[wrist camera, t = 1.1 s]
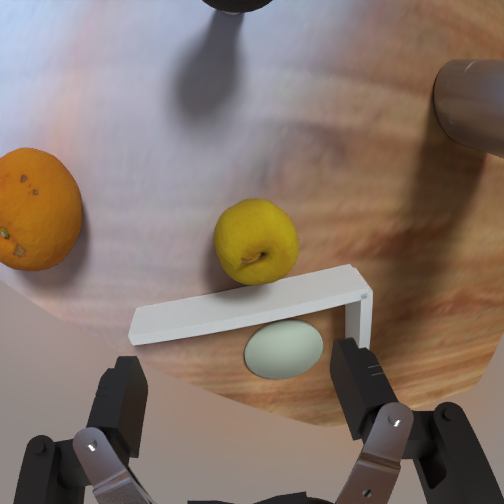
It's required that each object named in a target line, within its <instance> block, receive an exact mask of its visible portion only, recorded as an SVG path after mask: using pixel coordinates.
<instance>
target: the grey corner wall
mask: <svg viewBox="0 0 504 504" xmlns="http://www.w3.org/2000/svg"><path fill="white" fill-rule="evenodd" d="M372 302H373V291H372V290H371V288H370V287H369V286H368V284H367V283H366V281H365V280H364V279H363V277H362V276H361V275H360V273H359V272H358V271H357V269H356V268H352V266H351V265H350V264H347V265H343V266H338V267H334V268H329V269H325V270H321V271H316V272H312V273H307V274H303V275H298V276H293V277H289V278H284V279H280V280H278V281H276V282H273V283H268V284H263V285H251V286H246V287H241V288H236V289H231V290H226V291H221V292H216V293H211V294H206V295H201V296H196V297H191V298H186V299H180V300H175V301H170V302H164V303H159V304H153V305H148V306H142V307H137V308H136V311H135V314H134V317H133V320H132V324H131V327H130V330H129V334H128V338H129V340H130V342H131V343H132V345H133V346H134V345H141V344H148V343H155V342H161V341H168V340H174V339H180V338H186V337H192V336H198V335H204V334H209V333H215V332H220V331H226V330H231V329H236V328H241V327H246V326H251V325H256V324H261V323H266V322H271V321H275V320H280V319H285V318H289V317H294V316H298V315H302V314H307V313H311V312H315V311H319V310H324V309H328V308H332V307H336V306H340V305H344V304H345V338H350V337H353V338H354V340H355V342H356V344H357V346H358V348H364V347H366V348H367V349H368V350H369V346H370V334H371V320H372Z"/></svg>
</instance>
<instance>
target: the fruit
mask: <svg viewBox="0 0 504 504" xmlns="http://www.w3.org/2000/svg"><path fill="white" fill-rule="evenodd" d="M81 224H82V200H81V194H80V190H79V188H78V185H77V183H76V181H75V180H74V178H73V176H72V175H71V174H70V172H69V171H68V170H67V168H66V167H65V166H64V165H63V164H62V163H61V162H60V161H59V160H58V159H57V158H56V157H55V156H53V155H51V154H49V153H47V152H44V151H40V150H37V149H33V148H20V149H17V150H14V151H12V152H10V153H7V154H6V155H5V156H3V157H1V158H0V262H1V263H3V264H4V265H6V266H8V267H11V268H13V269H18V270H25V271H39V270H44V269H48V268H50V267H52V266H55V265H57V264H58V263H60V262H61V261H62V260H63V259H64V258H65V257H66V256H67V255H68V253H69V252H70V250H71V249H72V247H73V245H74V244H75V242H76V240H77V237H78V235H79V232H80V229H81Z"/></svg>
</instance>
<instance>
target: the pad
mask: <svg viewBox="0 0 504 504" xmlns="http://www.w3.org/2000/svg"><path fill="white" fill-rule="evenodd" d="M322 350H323V341H322V338H321V335H320V333H319V332H318V330H317V329H316V328H315V327H314V326H312V325H311V324H309V323H307V322H304V321H300V320H281V321H276V322H273V323H270V324H268V325H266V326H264V327H262V328H260V329H259V330H258V331H256V332H255V333H254V334H253V335H252V336H251V337H250V339H249V340H248V342H247V344H246V347H245V360H246V364H247V366H248V367H249V369H250V370H251V371H252V372H254V373H255V374H257V375H259V376H261V377H264V378H268V379H286V378H291V377H294V376H297V375H299V374H301V373H303V372H305V371H307V370H308V369H310V368H311V367H312V366H313V365H314V364H315V363H316V362H317V361H318V359H319V358H320V356H321V353H322Z"/></svg>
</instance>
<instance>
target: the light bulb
mask: <svg viewBox="0 0 504 504" xmlns="http://www.w3.org/2000/svg"><path fill="white" fill-rule="evenodd" d="M202 1H204V2H205V3H206V4H208V5H209V6H211V7H213V8H215V9H217V10H220V11H222V12H224V13H226V14H229V15H237V14H240V13H244V12H251V11H254V10H257V9H259V8H262V7H264V6H265V5H267V4H269V3H270V2H271V1H272V0H202Z"/></svg>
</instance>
